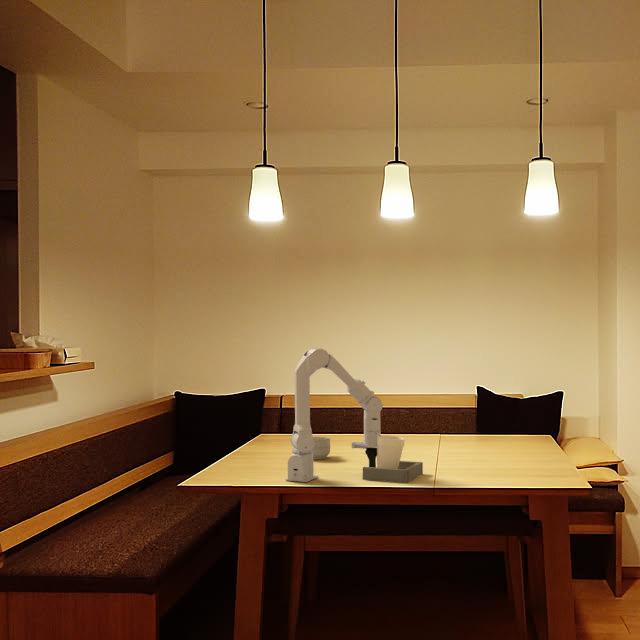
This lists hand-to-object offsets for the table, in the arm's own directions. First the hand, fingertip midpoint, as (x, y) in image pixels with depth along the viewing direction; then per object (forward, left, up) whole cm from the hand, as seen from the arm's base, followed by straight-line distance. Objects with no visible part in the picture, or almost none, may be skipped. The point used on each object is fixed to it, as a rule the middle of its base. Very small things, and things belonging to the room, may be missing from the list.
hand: (372, 470), depth 282 cm
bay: (0, -7, -2) cm, 7 cm away
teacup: (+25, +31, -2) cm, 40 cm away
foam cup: (0, -5, -2) cm, 5 cm away
